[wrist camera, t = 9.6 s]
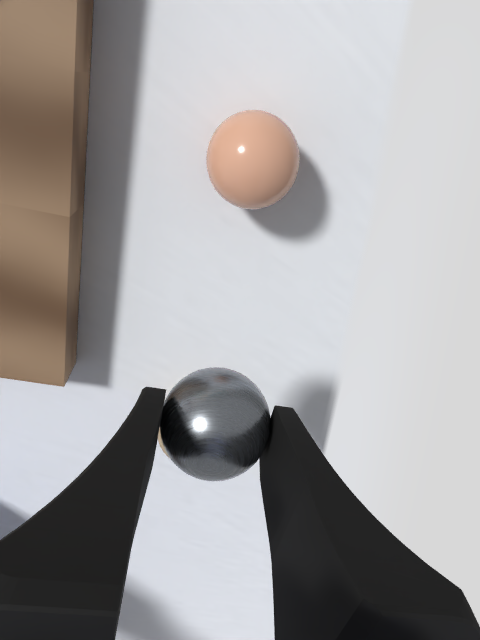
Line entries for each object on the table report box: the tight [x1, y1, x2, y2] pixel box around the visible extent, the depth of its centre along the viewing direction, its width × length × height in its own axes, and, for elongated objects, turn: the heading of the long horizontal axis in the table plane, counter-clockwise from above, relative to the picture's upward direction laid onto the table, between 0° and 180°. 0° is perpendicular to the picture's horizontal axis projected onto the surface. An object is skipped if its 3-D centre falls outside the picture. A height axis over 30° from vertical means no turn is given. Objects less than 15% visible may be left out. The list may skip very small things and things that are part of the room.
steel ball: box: [160, 367, 271, 481], centre depth 14 cm, size 4×4×4 cm
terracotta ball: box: [206, 110, 300, 209], centre depth 16 cm, size 4×4×4 cm
